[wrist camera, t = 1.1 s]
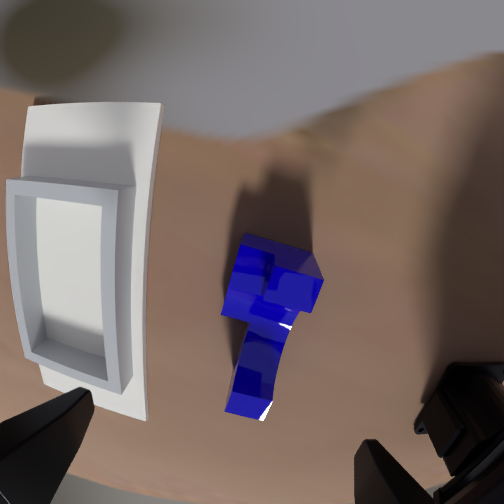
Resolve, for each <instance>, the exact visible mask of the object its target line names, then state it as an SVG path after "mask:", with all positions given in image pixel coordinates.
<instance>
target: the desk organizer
mask: <svg viewBox="0 0 504 504" xmlns="http://www.w3.org/2000/svg"><path fill="white" fill-rule="evenodd" d="M164 108H165V105H164V104H162V103H149V102H85V103H64V104H50V105H38V106H28V113H27V119H26V127H25V135H24V144H23V155H22V169H21V177H17V178H10V179H6V229H7V247H8V259H9V269H10V278H11V286H12V293H13V300H14V306H15V312H16V317H17V323H18V328H19V333H20V337H21V342H22V346H23V350H24V354H25V358H27V359H29V360H31V361H33V362H35V363H38V364H39V366H40V370H41V374H42V377H43V381H44V384H45V385H47V386H50V387H52V388H54V389H57V390H59V391H61V392H64V393H67V392H69V391H71V390H73V389H75V388H77V387H83V388H86V389H89V390H90V391H91V392H92V397H93V402H94V405H97V406H100V407H103V408H106V409H109V410H111V411H114V412H117V413H121V414H124V415H127V416H130V417H133V418H137V419H140V420H143V421H147V419H148V416H149V412H148V394H147V368H146V294H147V268H148V249H149V234H150V221H151V210H152V199H153V189H154V180H155V171H156V163H157V155H158V148H159V141H160V134H161V127H162V121H163V114H164Z"/></svg>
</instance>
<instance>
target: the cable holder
mask: <svg viewBox="0 0 504 504" xmlns="http://www.w3.org/2000/svg"><path fill="white" fill-rule="evenodd" d="M323 281H324V279H323V276H322V274H321V271H320V269H319V267H318V264H317V262H316V259H315V257H314V255H313V253H312V252H308V251H305V250H302V249H298V248H295V247H292V246H289V245H285V244H282V243H279V242H275V241H272V240H269V239H265V238H262V237H258V236H255V235H252V234H248V233H245V234H244V236H243V239H242V241H241V244H240V247H239V251H238V254H237V258H236V261H235V265H234V268H233V272H232V275H231V279H230V282H229V286H228V290H227V294H226V298H225V302H224V305H223V309H222V312H221V315H224V316H228V317H231V318H235V319H238V320H241V321H245V322H248V325H247V328H246V331H245V334H244V337H243V340H242V343H241V346H240V349H239V352H238V355H237V358H236V361H235V364H234V367H233V371H232V376H231V381H230V386H229V391H228V396H227V401H226V407H225V412H228V413H232V414H236V415H240V416H244V417H248V418H253V419H257V420H262V421H263V420H264V418H265V416H266V414H267V412H268V410H269V408H270V406H271V404H272V402H273V391H274V384H275V378H276V373H277V369H278V365H279V361H280V357H281V354H282V350H283V347H284V344H285V341H286V339H287V336H288V333H289V331H290V329H291V326H292V324H293V322H294V320H295V318H296V317H297V315H298V313H299V312H300V311H304V312H308V313H311V312H312V309H313V307H314V304H315V302H316V299H317V297H318V294H319V292H320V289H321V286H322V284H323Z"/></svg>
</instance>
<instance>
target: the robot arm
mask: <svg viewBox="0 0 504 504" xmlns="http://www.w3.org/2000/svg"><path fill="white" fill-rule="evenodd" d="M454 369H455V370H454ZM453 370H454V371H453ZM503 381H504V362H496V363H462V362H455V363H452V364H450V365H449V366H448V368H447V370H446V372H445V374H444V375H443V377H442V379H441V381H440V383H439V385H438V387H437V389H436V391H435V392H434V394H433V396H432V398H431V400H430V401H429V403H428V405H427V407H426V408H425V410H424V412H423V413H422V415H421V417H420V418H419V420H418V422H417V423H416V425H415V427H414V431H415V433H416V434H429V437H430V439H431V441H432V443H433V446H434V448H435V450H436V452H437V455H438V456H439V458H442V457H443V459H444V462H445V464H446V466H447V469H448V471H449V473H450V476H455V477H454V478H452V479H451V480H450V481H449V482H448V483H446V484H445V485H444V486H443V487H441V488H439V489H437V490H436V491H435V492H434V493H433V498H432V497H431V496H430V495H429V494H428V493H427V492H426V491H425V490H424V489H423V488H422V487H421V486H420V485H419V484H418V483H417V481H416V480H415V479H414V478H413V477H412V476H411V475H410V474H409V473H408V472H407V471H406V470H405V469H404V468H403V467H402V466H401V465H400V464H399V463H398V462H397V461H396V460H395V459H394V457H393V456H392V455H391V454H390V453H389V452H388V451H387V450H386V449H385V448H384V447H383V446H382V445H381V444H380V443H379V442H378V441H377V440H376V439H365V440H364V441H363V442H362V444H361V445H360V447H359V449H358V450H357V452H356V454H355V457H354V497H355V504H504V386H503V385H502V382H503ZM93 413H94V402H93V397H92V392H91V391H90V390H89V389H86V388H83V387H77V388H75V389H73V390H71V391H69V392H67V393H65V394H62V395H60V396H58V397H56V398H54V399H52V400H50V401H47V402H45V403H43V404H41V405H39V406H37V407H34V408H32V409H30V410H28V411H25V412H23V413H21V414H19V415H16V416H14V417H12V418H10V419H7V420H5V421H3V422H1V423H0V504H50V503H51V501H52V499H53V497H54V495H55V493H56V491H57V489H58V487H59V485H60V483H61V481H62V479H63V477H64V476H65V474H66V472H67V470H68V468H69V466H70V464H71V463H72V461H73V459H74V457H75V455H76V453H77V452H78V450H79V448H80V445H81V443H82V441H83V438H84V436H85V433H86V431H87V428H88V426H89V423H90V421H91V418H92V416H93Z"/></svg>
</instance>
